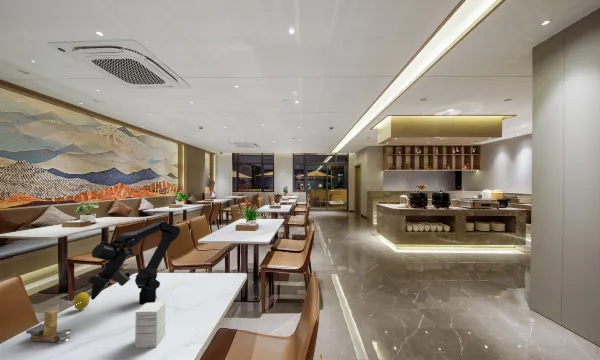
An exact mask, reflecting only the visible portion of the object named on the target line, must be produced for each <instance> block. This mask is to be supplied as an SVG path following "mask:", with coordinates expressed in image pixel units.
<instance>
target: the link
mask: <svg viewBox="0 0 600 360" xmlns="http://www.w3.org/2000/svg"><path fill="white" fill-rule="evenodd" d="M43 314H44V315H43V317H44V318H43V319H44V320H43V324H44V332H43V333H41V334H39V335H35V334H34V335H32V336H31V335H30V342H31V341H32V342H49V343H50V342H52V343H53V342H54V343H55V342H57V341H58V340H59V337H56V334H57V333H58V332H59V331H58V310H56V309H55V310H54V309H48V310H46V311H44V313H43Z"/></svg>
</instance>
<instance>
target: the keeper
mask: <svg viewBox="0 0 600 360" xmlns="http://www.w3.org/2000/svg"><path fill="white" fill-rule="evenodd" d="M25 331H26V332H25V333H26V334H28V335H29V334H30V337H31V336H32V335H34V334H35V335H39V334H41V333H43V332H44V323H40V324H38V325H35V326H33V327H32V328H31V327H30V328H29V329H27V330H25Z"/></svg>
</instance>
